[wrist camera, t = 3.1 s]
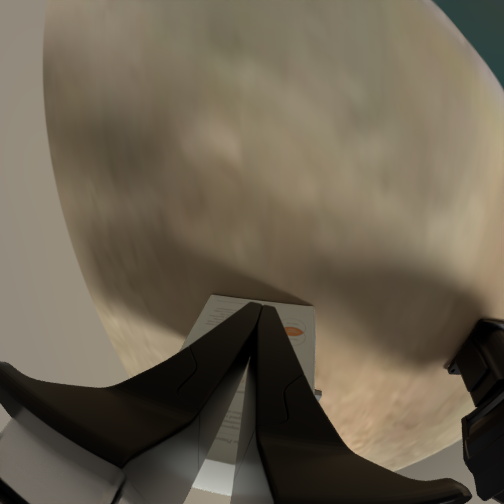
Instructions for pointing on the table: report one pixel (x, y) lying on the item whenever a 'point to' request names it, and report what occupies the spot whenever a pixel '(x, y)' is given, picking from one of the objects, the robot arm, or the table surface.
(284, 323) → the small box
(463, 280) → the table surface
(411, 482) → the robot arm
